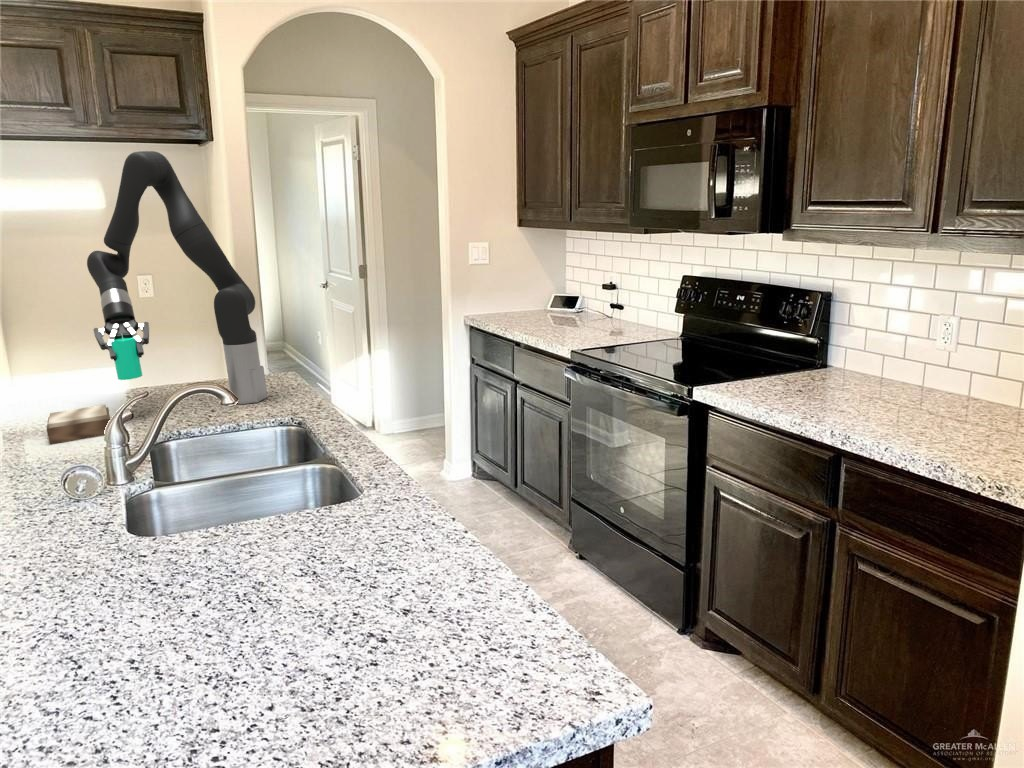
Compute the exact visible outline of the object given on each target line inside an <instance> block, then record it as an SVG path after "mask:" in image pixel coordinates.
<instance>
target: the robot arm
mask: <svg viewBox="0 0 1024 768" xmlns="http://www.w3.org/2000/svg"><path fill="white" fill-rule="evenodd" d="M148 187H152V188H153V189H154V190H155V192H156V193H157V195H158V196H159V197H160V199H161V201H162V202H163V204H164V206H165V209H166V213H167V219H168V226H169V229H170V232H171V235H172V237H173V239H174V240H175V241H176V243H177V245H178V246H179V247H180V249H181V251H182V252H183V253H184V255H185V256H186V257H187V258H188V259H189V260H190V261H191V262H192V263H193V264H194V265H196V266H197V268H199V269H200V270H201V271H202V272H203V273H205V275H207V276H208V277H209V279H210V280H211V281H212V282H213V284H214V285H215V287H216V289H217V291H218V292H217V293H216V294H215V296H214V298H213V309H214V317H215V321H216V326H217V331H218V334H219V337H221V340H222V344H223V345H222V346H223V347H222V348H223V351H224V360H225V365H226V372H227V379H228V380H227V381H228V387H229V391H230V390H231V391H232V392H233V393H234V394H235V395H236V396H237V397H238V399H239V401H238V404H237V405H245V404H253V403H260V402H261V401H263V400H265V399H266V398H268V388H267V383H266V374H265V367H264V366H263V365H261V360H260V354H259V347H258V338H257V332H256V331H255V330H254V329H253V328H252V326H251V324H250V319H249V315H251V314H252V313H253V312H254V310H255V308H256V297H255V295H254V293H253V291H252V290H251V289H250V287H249V286H248V285H247V284H246V282H245V281H244V280H243V279H242V277H241V276H240V275H239V274H238V272H237V271H236V269H234V266H232V264H231V262H230V261H229V259H228V257H227V256H226V254H225V252H224V251H223V249H222V248H221V246H220V245H219V242H217V239H216V238H215V236H214V235H213V233H212V231H211V230H210V229H209V227H208V226H207V224H206V223H205V221H204V220H203V218H202V217H201V214H199V212H198V211H197V208H196V207H195V205H194V204H193V202H192V201H191V199H190V198H189V196H188V195H187V192H186V191H185V190H184V189H185V188H183V185H182V184H181V182H180V180H179V178H178V176H177V174H176V172H175V170H174V167H173V165H172V164H171V163H170V161H169V159H168V158H167V157H166V156H164V155H163V154H162V153H160V152H158V151H153V150H150V151H148V150H146V151H145V150H144V151H141V150H139V151H134V152H131V153H130V154H128V156H126V158H125V160H124V164H123V167H122V172H121V177H120V183H119V188H118V193H117V198H116V202H115V207H114V211H113V214H112V217H111V219H110V221H109V224H108V227H107V229H106V232H105V234H104V237H103V243H104V245H105V246H106V247H107V248H108V249H110V250H113V251H115V252H117V253H112V252H109V251H108V252H107V251H103V250H94V251H92V252H91V253H89V255H88V257H87V259H86V267H87V270H88V272H89V275H90V276H91V279H92V280H93V281H94V283H95V284H96V286H97V288H98V289H99V295H100V304H101V312H102V316H103V320H104V326H103V327H102V328H98V327H94V328H93V329H92V330H93V334H94V337H95V339H96V342H97V343H98V346H99V347H100V349H101V350H102V351H106V350H108V352H109V358H110V359H111V360H113V361H114V362H115V361H116V360H117V358H116V353H115V352H114V350H113V348H112V346H111V341H114V340H116V339H120V338H122V336H123V338H133V337H134V338H135V339H136V345H137V350H138V355H139V359H140V358H142V357H143V356H144V355H145V351H144V347H143V346H144V345H148V344H150V324H149V322H148V321H145V322H143V323H138V322H137V321H136V316H135V312H134V309H133V304H132V299H131V297H130V295H129V289H128V287H127V282H126V280H125V279H124V278H125V277H126V276H127V275H128V273H129V270H130V255H131V249H132V245H133V242H134V240H135V238H136V236H137V232H138V229H139V225H140V214H139V213H140V212H139V209H140V202H141V200H142V196H143V195H144V193H145V192H146V190H147V188H148ZM139 329H140V331H141V332H142V337H140V336H139V334H138V333H137V331H138V330H139ZM105 334H107V335H108V336H109V338H108V342H105V340H104V338H103V337H104V336H105Z"/></svg>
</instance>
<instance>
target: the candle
mask: <svg viewBox="0 0 1024 768" xmlns="http://www.w3.org/2000/svg"><path fill="white" fill-rule="evenodd" d="M111 346H112V348H113V350H114V352H115V353H116V358H117V360H116V361H114V365H115V370H116V375H117V380H120V381H126V380H127V381H128V380H134V379H138V378H141V377H142V376H143V372H142V370H143V369H142V366H141V361H140V358H139V355H138V350H137V345H136V339H135V338H134V337H133V338H123V336H122V338H120V339H116V340H114V341H111Z"/></svg>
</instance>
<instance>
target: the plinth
mask: <svg viewBox="0 0 1024 768" xmlns="http://www.w3.org/2000/svg"><path fill="white" fill-rule="evenodd" d="M47 418H48V419H47V423H46V433H47V438H48V443H49V445H53V444H60V443H66V442H72V441H78V440H85V439H88V438H89V439H90V438H94V437H100V436H105V435H104V430H105V427H106V425H107V423H108V421H109V420H111V414H110V410H109V407H108V406H106V404H100V405H99V404H98V405H94V406H88V407H87V406H86V407H80V408H76V409H75V408H74V409H67V410H61V411H56V412H55V411H54V412H50V413H49V415H48V417H47Z"/></svg>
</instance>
